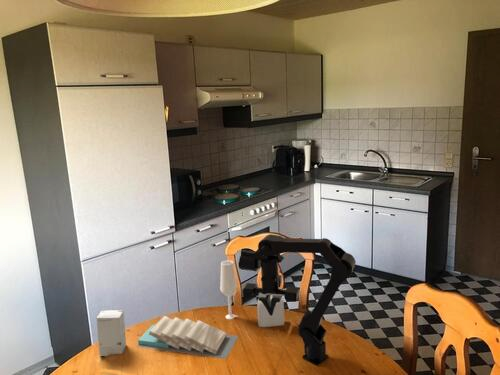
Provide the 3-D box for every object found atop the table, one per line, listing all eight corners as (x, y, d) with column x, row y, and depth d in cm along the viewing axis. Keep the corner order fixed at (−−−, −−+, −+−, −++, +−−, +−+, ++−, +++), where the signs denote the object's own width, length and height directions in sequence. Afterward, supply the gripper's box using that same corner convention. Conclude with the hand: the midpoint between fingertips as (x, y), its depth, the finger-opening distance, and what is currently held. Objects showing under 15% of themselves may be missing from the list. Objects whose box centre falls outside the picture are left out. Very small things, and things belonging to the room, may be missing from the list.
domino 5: (227, 333, 152) (198, 319, 154) (216, 350, 141) (185, 335, 144) (226, 336, 152) (197, 323, 154) (215, 354, 142) (184, 339, 144)
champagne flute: (218, 319, 167) (215, 262, 162) (231, 312, 171) (228, 258, 167) (229, 324, 162) (225, 267, 157) (242, 318, 167) (239, 262, 162)
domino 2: (192, 329, 156) (164, 315, 158) (179, 345, 145) (149, 330, 147) (191, 332, 156) (163, 318, 158) (178, 349, 146) (148, 334, 148)
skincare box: (99, 357, 145) (94, 318, 142) (104, 347, 151) (100, 310, 148) (123, 356, 145) (119, 317, 142) (128, 346, 151) (123, 308, 148)
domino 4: (214, 331, 153) (186, 318, 155) (203, 348, 143) (173, 333, 145) (213, 335, 153) (185, 321, 156) (202, 352, 143) (171, 337, 145)
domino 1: (181, 327, 157) (153, 324, 160) (168, 344, 146) (137, 340, 150) (181, 331, 157) (153, 328, 160) (168, 348, 147) (138, 344, 150)
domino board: (238, 338, 152) (238, 336, 152) (226, 361, 139) (226, 358, 139) (155, 328, 162) (155, 326, 162) (136, 349, 149) (136, 346, 149)
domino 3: (203, 330, 154) (175, 316, 156) (191, 347, 144) (161, 332, 146) (202, 334, 155) (174, 320, 157) (190, 351, 144) (160, 335, 147)
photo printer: (258, 330, 158) (257, 300, 155) (257, 324, 162) (256, 294, 159) (285, 327, 158) (284, 297, 156) (283, 321, 163) (282, 292, 160)
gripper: (301, 265, 144) (302, 306, 147) (249, 261, 149) (251, 301, 152) (295, 278, 134) (296, 322, 137) (240, 274, 139) (242, 316, 142)
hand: (271, 315), depth 142 cm, fingers closed
